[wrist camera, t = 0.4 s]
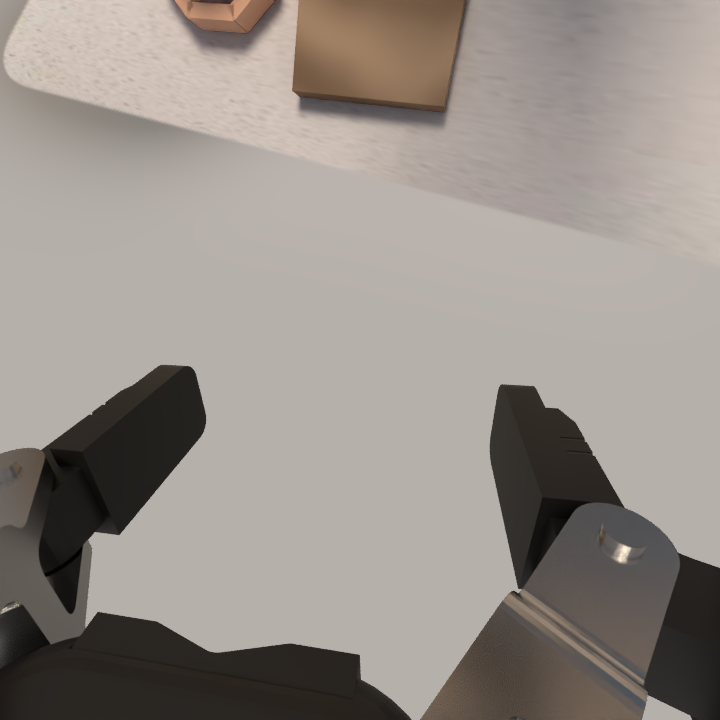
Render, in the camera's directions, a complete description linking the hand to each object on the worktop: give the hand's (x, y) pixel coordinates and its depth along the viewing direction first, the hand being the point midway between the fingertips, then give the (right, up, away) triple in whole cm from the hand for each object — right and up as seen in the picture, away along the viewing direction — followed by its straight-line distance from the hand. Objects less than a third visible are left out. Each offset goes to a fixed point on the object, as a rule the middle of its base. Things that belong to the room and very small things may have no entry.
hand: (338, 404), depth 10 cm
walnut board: (+2, +28, +18) cm, 33 cm away
